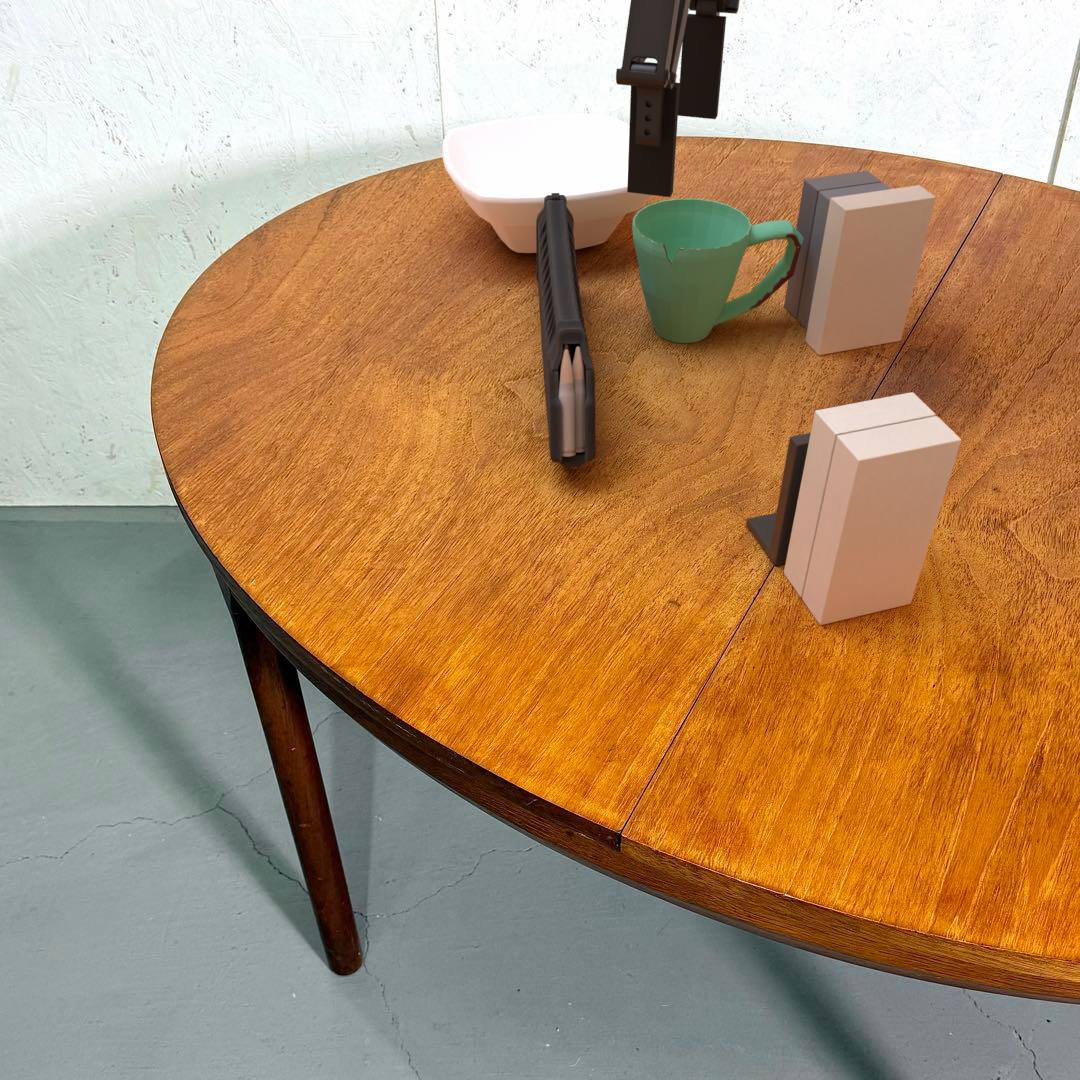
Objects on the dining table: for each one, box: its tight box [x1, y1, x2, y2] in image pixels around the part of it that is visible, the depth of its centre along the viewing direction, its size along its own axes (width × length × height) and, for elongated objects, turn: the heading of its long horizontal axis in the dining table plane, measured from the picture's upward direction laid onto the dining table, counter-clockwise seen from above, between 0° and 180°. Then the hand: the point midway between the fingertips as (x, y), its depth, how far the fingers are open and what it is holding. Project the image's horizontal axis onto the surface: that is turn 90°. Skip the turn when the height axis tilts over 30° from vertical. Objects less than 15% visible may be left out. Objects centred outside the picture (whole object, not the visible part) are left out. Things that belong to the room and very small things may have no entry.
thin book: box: [804, 184, 937, 356], centre depth 88 cm, size 8×2×13 cm, turn 107°
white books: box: [745, 391, 962, 626], centre depth 67 cm, size 7×10×13 cm
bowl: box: [441, 112, 652, 254], centre depth 106 cm, size 21×21×9 cm
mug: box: [631, 197, 804, 344], centre depth 91 cm, size 15×10×10 cm
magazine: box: [535, 193, 597, 469], centre depth 86 cm, size 17×3×30 cm
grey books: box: [783, 170, 893, 331], centre depth 92 cm, size 6×5×12 cm
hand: (675, 152), depth 70 cm, fingers open, 13 cm apart
